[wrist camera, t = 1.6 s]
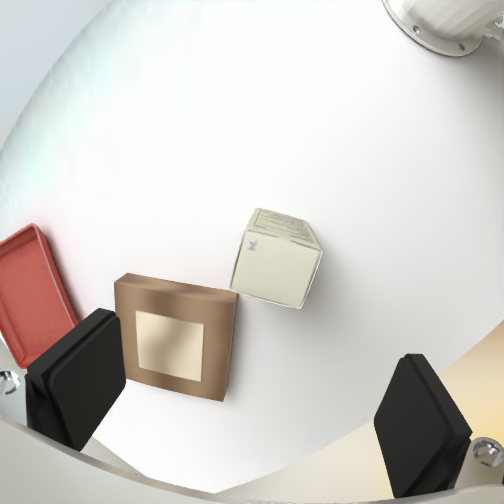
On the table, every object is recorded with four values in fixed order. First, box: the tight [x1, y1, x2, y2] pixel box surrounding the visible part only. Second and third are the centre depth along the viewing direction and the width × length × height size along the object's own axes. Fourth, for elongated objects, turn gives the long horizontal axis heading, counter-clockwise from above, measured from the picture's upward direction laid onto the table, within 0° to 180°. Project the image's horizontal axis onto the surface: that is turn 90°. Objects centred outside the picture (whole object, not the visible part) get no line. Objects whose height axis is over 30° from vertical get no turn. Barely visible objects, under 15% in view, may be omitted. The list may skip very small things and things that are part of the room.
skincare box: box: [230, 208, 323, 309], centre depth 24 cm, size 5×4×10 cm
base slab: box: [114, 273, 238, 402], centre depth 31 cm, size 12×12×3 cm
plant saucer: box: [0, 223, 79, 369], centre depth 33 cm, size 18×18×3 cm
